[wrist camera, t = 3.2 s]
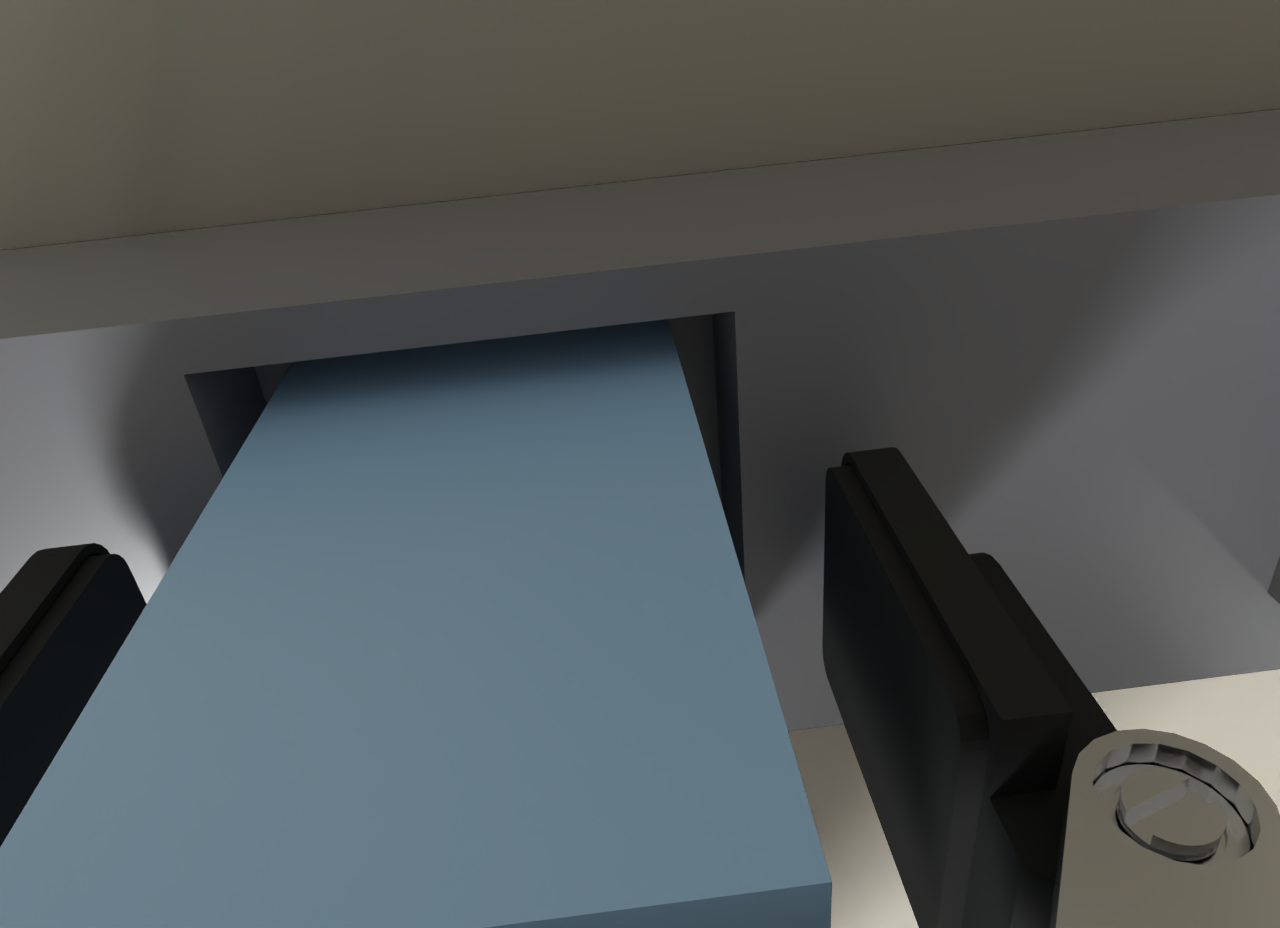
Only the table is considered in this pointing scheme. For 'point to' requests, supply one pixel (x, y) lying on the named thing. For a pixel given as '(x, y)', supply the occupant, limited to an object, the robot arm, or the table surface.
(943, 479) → the power strip
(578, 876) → the block
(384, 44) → the table surface
